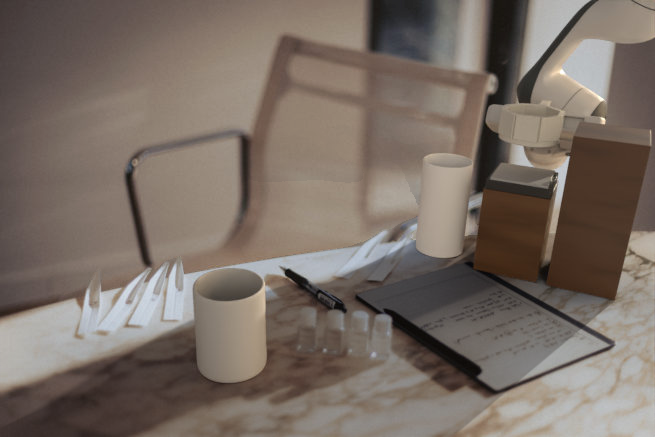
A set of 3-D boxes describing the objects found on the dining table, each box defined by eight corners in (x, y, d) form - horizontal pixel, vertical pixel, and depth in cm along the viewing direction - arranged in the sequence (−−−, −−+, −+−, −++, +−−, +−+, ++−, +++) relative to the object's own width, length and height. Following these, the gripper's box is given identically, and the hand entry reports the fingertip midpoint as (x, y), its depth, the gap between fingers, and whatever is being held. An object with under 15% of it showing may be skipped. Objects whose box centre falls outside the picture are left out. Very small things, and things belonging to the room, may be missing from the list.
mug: (277, 373, 75) (276, 293, 71) (207, 391, 72) (202, 309, 67) (245, 323, 85) (242, 251, 81) (182, 337, 82) (177, 262, 77)
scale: (497, 170, 105) (499, 160, 104) (557, 180, 101) (559, 169, 100) (485, 188, 96) (486, 177, 96) (549, 199, 93) (551, 188, 92)
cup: (437, 262, 104) (447, 171, 97) (405, 244, 110) (412, 157, 104) (472, 251, 108) (484, 163, 102) (440, 234, 114) (449, 150, 108)
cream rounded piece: (518, 112, 112) (521, 87, 110) (570, 119, 108) (575, 93, 107) (493, 141, 94) (497, 112, 92) (555, 150, 90) (560, 120, 88)
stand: (486, 245, 110) (504, 112, 101) (617, 272, 102) (650, 129, 93) (472, 269, 102) (491, 125, 92) (614, 300, 93) (651, 146, 84)
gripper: (493, 111, 123) (485, 86, 110) (605, 125, 115) (609, 100, 102) (486, 142, 122) (477, 120, 109) (598, 158, 114) (601, 136, 102)
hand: (542, 110), depth 106 cm, fingers closed on cream rounded piece, 2 cm apart
